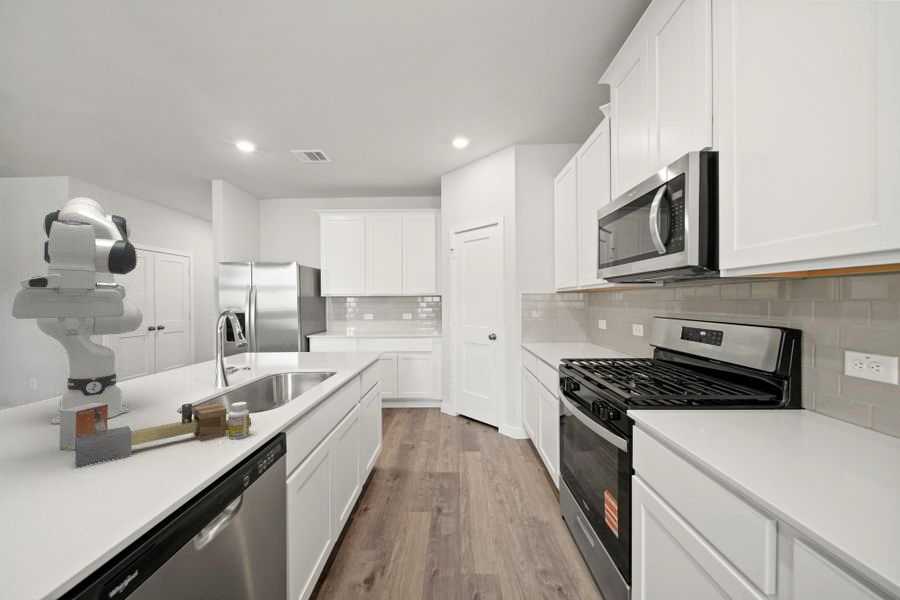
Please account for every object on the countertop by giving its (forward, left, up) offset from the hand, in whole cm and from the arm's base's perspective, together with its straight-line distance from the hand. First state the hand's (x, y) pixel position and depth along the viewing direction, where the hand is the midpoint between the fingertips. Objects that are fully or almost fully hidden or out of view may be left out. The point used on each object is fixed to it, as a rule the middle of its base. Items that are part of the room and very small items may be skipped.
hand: (71, 335), depth 96 cm
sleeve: (+9, +6, -31) cm, 33 cm away
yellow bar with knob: (+9, +21, -29) cm, 37 cm away
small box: (-7, +3, -31) cm, 32 cm away
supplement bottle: (+16, +35, -31) cm, 49 cm away
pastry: (+6, +38, -31) cm, 49 cm away
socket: (+9, +29, -31) cm, 43 cm away
